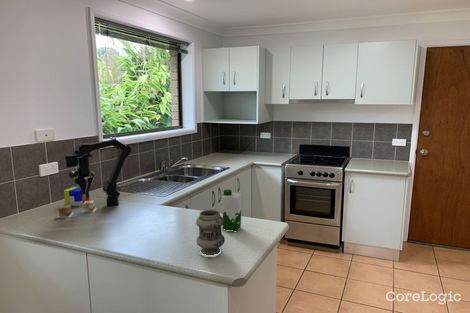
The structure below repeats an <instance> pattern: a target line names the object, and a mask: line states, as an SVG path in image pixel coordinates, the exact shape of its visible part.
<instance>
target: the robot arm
mask: <svg viewBox="0 0 470 313" xmlns="http://www.w3.org/2000/svg"><path fill="white" fill-rule="evenodd" d="M112 146H113V147H114V148H115V149H116V150H117V152H116V153H117V154H116V155H117V158H116V160H115V163H114V165H113V168H112V171H111V174H110V176H109V178H108V179H107V180H104V181H103V185H102V192H103V193H104V194H106V197H107V198H106V199H105V200H106V201H105V202H106V206H107V207H118V206H119V205H120V200H119V198H120V195H121V193H120V192H119V191H118V190H117V187H118V186H117V184H118V183H117V182H118V179H119V176H120V173H121V171H122V169H123V166H124V164H125V161H126V160H127V158H128V157H129V156H130V154H131V152H132V147H131V146H130V145H127V144H124V143H122V142H121V141H119V140H118V139H116V138H110V139H106V140H101V141H97V142H92V143H90V142H89V143H87V142H85V143H78V144H77V145H76V147H75V150H74V152H73V153H72V154H71V155H64V156H63V163H62V164H63V166H64V168H65V169H68V168H75V167H77V166H78V167H77V170H74V171H73V170H71V171H69V172H68V178H70V180H72V179H73V178H74V184H75V185H78V187H80V188H81V190H82V192H83V194H85V192H86V189H87V188H88V189H89V190H90V189H91V188H92V184H93V181H94V179H95V177H96V172H95V171H94V170H93V171H91V168H92V166H91V165H90V158H93V155H92V154H91V153H92V152H94V151H95V150H101V149H105V148H109V147H112Z"/></svg>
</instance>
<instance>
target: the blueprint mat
mask: <svg viewBox="0 0 470 313" xmlns="http://www.w3.org/2000/svg"><path fill="white" fill-rule="evenodd" d="M96 210H97V207H95V209H94V210H93V211H88V212H84V209H83V208H78V209H77V208H75V209H73V208H71V211H72V214H71V215H70V216H66V217H59V214H58V215H57V216H56V217H55V219H59V218H60V219H61V218H63V219H65V218H78V217H79V218H80V217H91V216H92V214H93V213H94V212H95V211H96Z"/></svg>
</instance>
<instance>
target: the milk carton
mask: <svg viewBox="0 0 470 313" xmlns="http://www.w3.org/2000/svg"><path fill="white" fill-rule="evenodd" d="M221 201H222V218H223V219H224V224H223V225H222V230H223V229H225V230H233V231H237V230H238V229H239V228H240V229H241V226H242V193H237V192H233V190H232V189H224V190H223V194H222V195H221ZM240 229H239V230H240ZM239 230H238V231H239ZM238 231H237V232H238Z"/></svg>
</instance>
